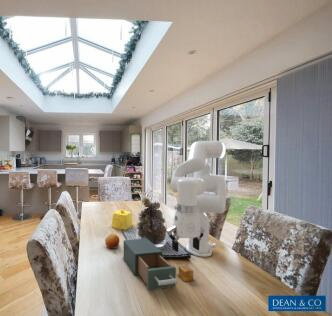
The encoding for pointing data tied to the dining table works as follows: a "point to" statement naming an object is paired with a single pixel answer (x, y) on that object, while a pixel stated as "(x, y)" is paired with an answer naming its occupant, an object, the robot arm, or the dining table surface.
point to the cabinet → (138, 251)
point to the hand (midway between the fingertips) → (185, 249)
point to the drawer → (156, 271)
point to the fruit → (112, 241)
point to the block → (185, 273)
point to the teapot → (122, 219)
